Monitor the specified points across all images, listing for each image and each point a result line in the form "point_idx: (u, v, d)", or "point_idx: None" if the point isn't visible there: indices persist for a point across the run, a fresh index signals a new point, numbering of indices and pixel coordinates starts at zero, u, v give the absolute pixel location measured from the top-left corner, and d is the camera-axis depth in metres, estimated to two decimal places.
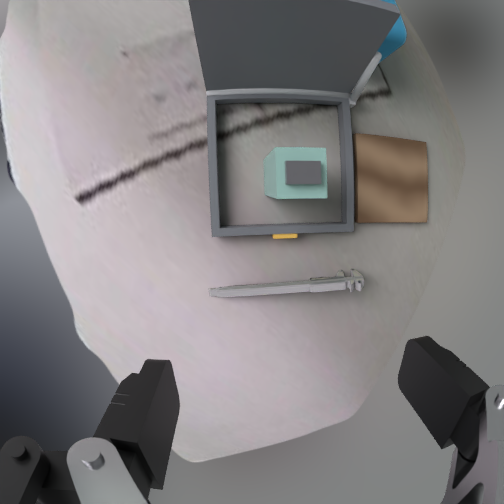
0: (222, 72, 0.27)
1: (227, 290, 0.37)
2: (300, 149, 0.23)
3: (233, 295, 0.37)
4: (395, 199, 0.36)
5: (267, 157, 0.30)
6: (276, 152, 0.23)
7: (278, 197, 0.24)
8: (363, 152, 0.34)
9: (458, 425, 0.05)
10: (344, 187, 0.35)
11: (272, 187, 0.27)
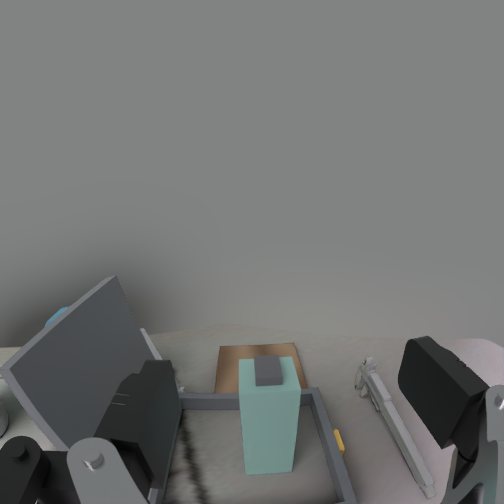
0: None
1: (422, 475, 0.17)
2: (241, 375, 0.21)
3: (425, 467, 0.17)
4: None
5: (245, 448, 0.20)
6: (245, 392, 0.19)
7: (299, 388, 0.19)
8: (234, 389, 0.34)
9: (458, 425, 0.05)
10: None
11: (286, 418, 0.20)
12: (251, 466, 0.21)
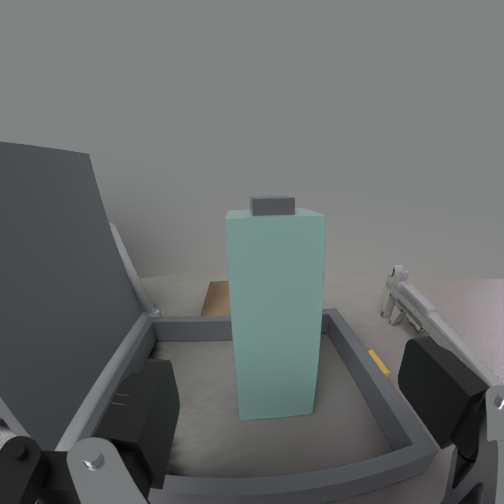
0: (26, 374, 0.09)
1: None
2: (230, 213, 0.15)
3: None
4: None
5: (237, 355, 0.14)
6: (235, 218, 0.13)
7: (321, 215, 0.13)
8: None
9: (458, 425, 0.05)
10: None
11: (303, 282, 0.13)
12: (248, 400, 0.15)
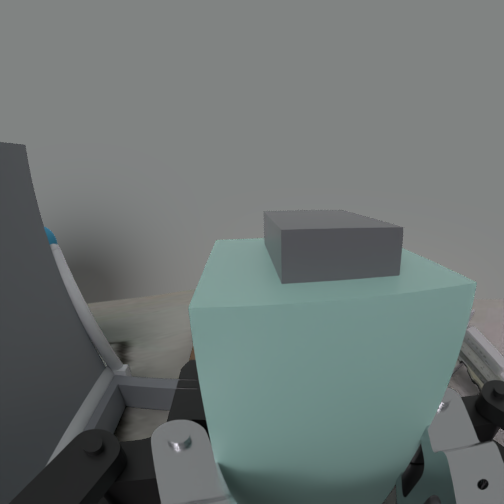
0: None
1: None
2: (216, 261, 0.06)
3: None
4: None
5: None
6: (226, 304, 0.04)
7: (467, 281, 0.04)
8: None
9: None
10: None
11: (395, 433, 0.04)
12: None
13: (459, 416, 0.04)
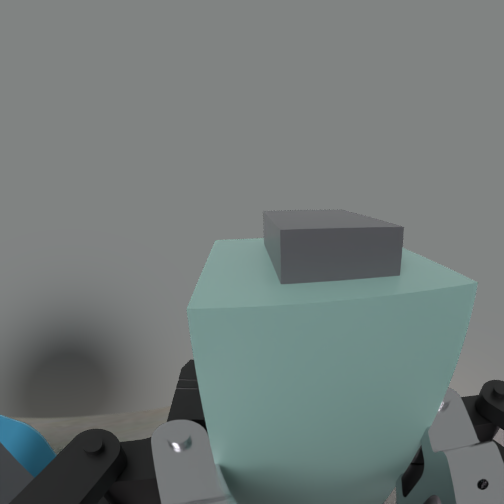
0: None
1: None
2: (215, 261, 0.06)
3: None
4: None
5: None
6: (224, 305, 0.04)
7: (468, 281, 0.04)
8: None
9: None
10: None
11: (395, 434, 0.04)
12: None
13: (459, 416, 0.04)
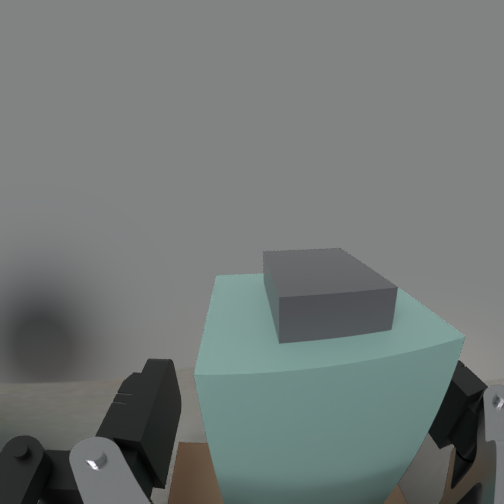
0: None
1: None
2: (217, 309, 0.06)
3: None
4: None
5: None
6: (227, 371, 0.04)
7: (456, 335, 0.04)
8: None
9: (456, 425, 0.05)
10: None
11: (382, 461, 0.04)
12: None
13: None
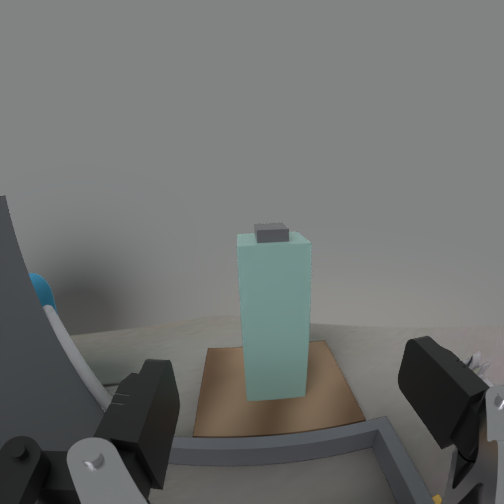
0: None
1: None
2: (240, 239, 0.19)
3: None
4: (306, 379, 0.22)
5: (246, 348, 0.19)
6: (244, 246, 0.17)
7: (308, 242, 0.17)
8: (229, 426, 0.17)
9: (458, 425, 0.05)
10: (307, 451, 0.14)
11: (295, 292, 0.18)
12: (253, 384, 0.19)
13: None
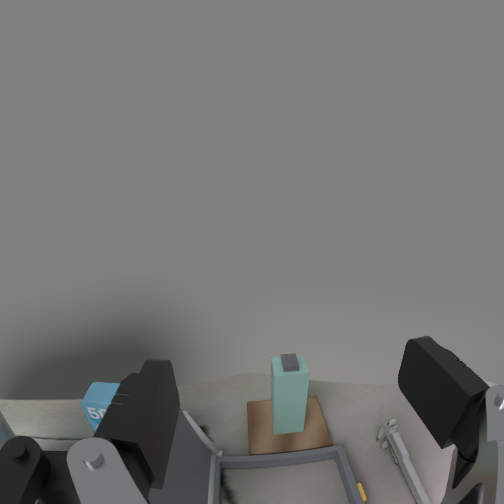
0: None
1: None
2: (274, 366, 0.36)
3: None
4: None
5: (275, 413, 0.35)
6: (278, 375, 0.34)
7: (308, 372, 0.34)
8: (266, 448, 0.34)
9: (458, 425, 0.05)
10: (304, 459, 0.31)
11: (300, 391, 0.35)
12: (277, 427, 0.36)
13: None
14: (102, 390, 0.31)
